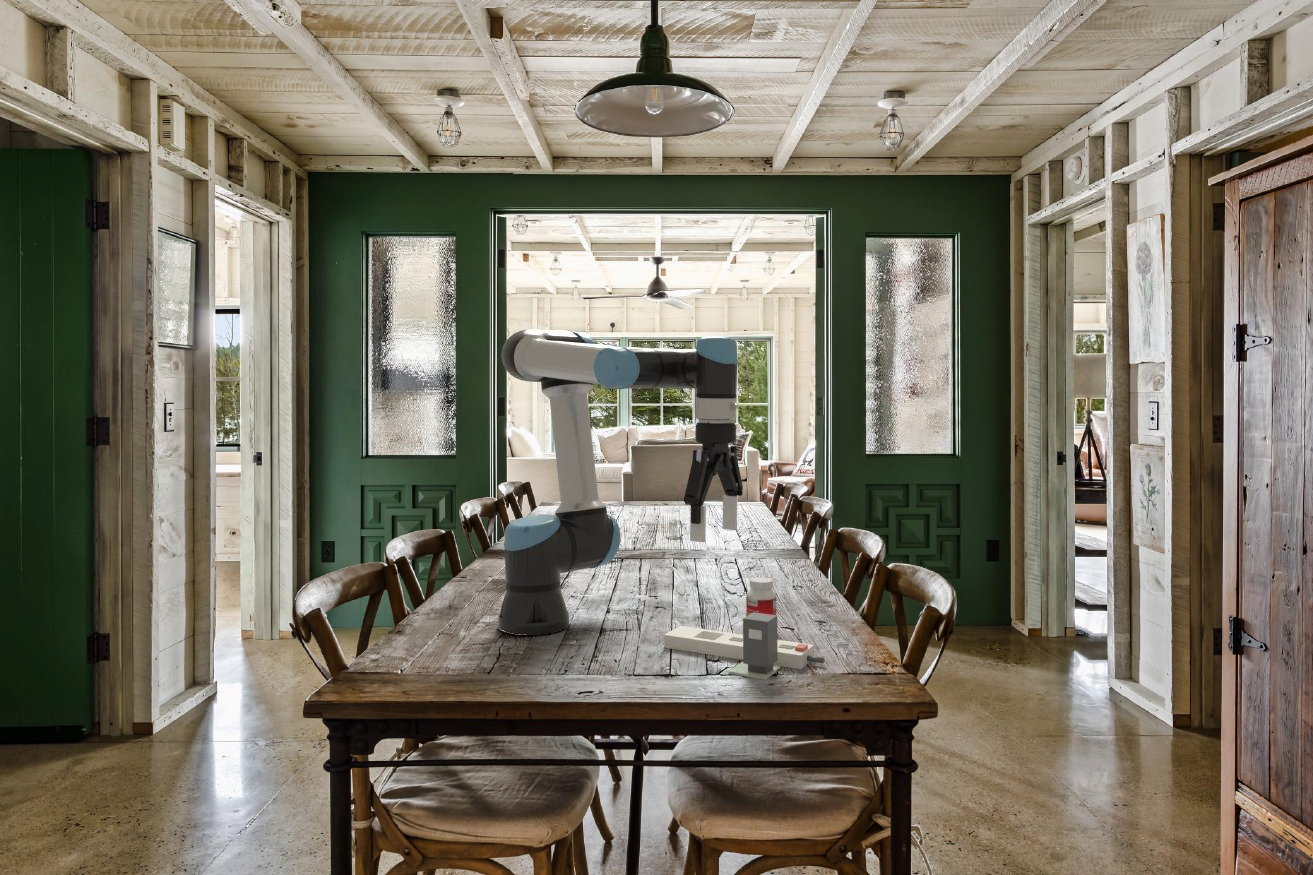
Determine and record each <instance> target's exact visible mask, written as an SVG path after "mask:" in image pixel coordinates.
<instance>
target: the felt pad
mask: <svg viewBox="0 0 1313 875" xmlns="http://www.w3.org/2000/svg"><path fill="white" fill-rule="evenodd" d="M781 668H782V666H779V665H773V669H772V670H771V671H770V672H768V673H767V674H760V673H754V672H748V664H743V661H741V662H740V663H738V664H737V665H736V666H734V667H732V668H731V669H730V670H729V671H728V674H730V675H736V676H742V677H745V678H746V677H747V678H753V679H759V680H764V681H765V680H767V679H769V678H770V677H771V676H772V675H775V673H777V672H778V671H779V670H780V669H781Z"/></svg>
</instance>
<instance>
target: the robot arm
mask: <svg viewBox="0 0 1313 875" xmlns="http://www.w3.org/2000/svg"><path fill="white" fill-rule="evenodd" d="M501 362H502V364H503V367H504V368H505V370H506V372H507V373H508V374H509V375H511V376H512V377H513V378H514V379H517V380H519V381H522V382H523V381H524V382H529V383H532V382H534V383H540V385H541V393H542V394H543V395H545V396H546V397H547V398H548V400H549V408H550V415H551V426H552V435H553V444H554V453H555V461H556V463H555V464H556V471H557V472H556V473H557V480H558V490H559V498H560V505H559V506H558V507H557V508H556V510H555V511H554V514H549V513H548V514H547V513H546V514H544V513H543V514H537V515H528V516H524V517H520V518H517V519H514V520H512V521H511V522H509V523H508V525H507V526H506V527H505V530H504V540H503V541H504V542H503V548H504V572H505V594H504V597H503V601H502V604H501V607H500V612H499V614H498V617H497V627H499V628H500V629H501V630H504V631H506V632H510V633H514V634H527V635H528V634H530V635H536V636H539V635H538V634H545V635H550V634H549V633H551V634H554V633H553V632H555V633H557V632H558V631H559V632H561V631H560V630H562V631H564V630H566V629H567V628H569V627H570V612H569V611H568V609H567V605H566V602H565V599H564V595H563V594H562V588H561V574H564V573H570V572H575V571H580V570H581V571H582V570H586V569H587V570H588V569H596V568H598V567H600V566H601V567H602V566H605V565H607V564H609V563H611V562H612V561H613V560H614V558H615V556H616V555H617V554H618V551H619V550H620V546H621V545H620V544H621V529H620V526H619V523H618V522H617V520H616V518H615V517H614V516H613V515H611V514H610V513H608V511H607V510H608V509H607V505H606V504H605V503H604V502H602V501H601V500H600V498H599V490H598V489H599V488H598V480H597V472H596V464H595V463H596V462H595V453H594V444H593V436H592V426H591V419H590V411H589V410H590V409H589V408H590V407H589V399H588V394H589V392H590V391H591V390H592V389H593V387H594V386H593V385H594V384H595V385H601V387H604V388H606V389H613V390H624V389H667V390H670V389H671V390H674V389H695V417H694V418H695V419H696V420H698V422H696V423H695V432H694V433H695V439H694V440H695V442H697V443H699V444H702V446H701V449H693V450H692V462H691V466H690V471H689V476H688V480H687V483H686V489H685V491H684V492H685V493H684V496H683V503H684V505H685V506H686V505H688V506H690V514H689V516H690V519H689V520H690V521H689V522H690V523H689V527H690V530H689V534H690V535H689V541H690V542H698V543H706V535H707V534H706V532H707V530H706V527H707V526H706V524H707V523H706V522H707V520H706V519H707V505H704V504H705V500H706V498H707V495H708V492H709V489H710V486H711V484H712V481H713V477H715V476H717V475H718V477H719V480H720V483H721V487H722V489H723V491H724V494H725V495H722V530H727V531H729V530H730V531H737V528H738V496H739V497H742V496H743V490H744V486H743V481H742V476H741V471H740V465H739V461H738V453H737V452H738V451H737V444H736V445H734V443H736V441H737V424H736V423H735V422H734V421H735V420H736V419H737V409H738V408H739V405H738V403H737V389H738V387H737V386H738V385H737V383H738V382H737V381H738V380H737V379H738V363H739V359H738V345H737V341H736V340H735V338H732V337H727V336H726V337H725V336H724V337H723V336H708V337H707V336H705V337H699V338H698V339H697V341H696V346H695V348H694V349H693V348H692V349H691V348H685V349H684V348H656V347H655V348H652V347H651V348H650V347H631V346H620V345H619V346H617V345H605V344H596V342H595V341H594V339H592V338H591V337H590V336H589V335H588V334H586V333H584V332H581V331H580V332H579V331H578V332H577V331H573V330H570V329H569V330H551V329H550V330H548V329H537V328H536V329H534V328H530V329H522V330H519V331H517V332H514V333H513V334H511V335H510V336H509V337H508V338H507V339H506V341H505V342H504V344H503V346H502V349H501ZM563 629H564V630H563Z"/></svg>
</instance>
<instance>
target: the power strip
mask: <svg viewBox="0 0 1313 875" xmlns="http://www.w3.org/2000/svg"><path fill="white" fill-rule="evenodd" d="M663 648H667V649H673V650H679V651H683V652H684V651H685V652H693V653H698V654H704V655H709V656H716V657H720V658H721V657H722V658H727V659H728V658H729V659H735V660H741V661H743V634H740V633H733V632H726V631H719V630H713V629H707V628H699V627H698V628H697V627H693V626H684V625H679V626H677V627H676V628H674V629H672V630H670V631H668V632H666V633H665V634H663ZM810 662H812V663H818V664H825V658H824V657H819V656H815V644H809V643H803V642H796V641H788V640H781V639H778V660H777V661H776V662H774V663H773V665H779V666H781V667H783V668H784V667H785V668H791V669H795V670H796V669H797V670H802V669H803V668H804V667H806V666H807V665H809V663H810Z"/></svg>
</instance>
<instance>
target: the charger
mask: <svg viewBox="0 0 1313 875" xmlns="http://www.w3.org/2000/svg"><path fill="white" fill-rule="evenodd" d="M742 635H743V660H742V662H743V664H748V672H754V673H760V674H767V673H768V672H770V671H771V670H772V669H773V663H774V662H776V661H777V660H778V640H779V638H778V615H777V614H776V615H770V614H762V613H754V612H753V613H751V614H750V615H748V616H745V617H743V618H742Z"/></svg>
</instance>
